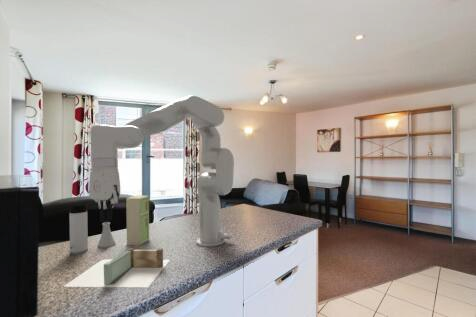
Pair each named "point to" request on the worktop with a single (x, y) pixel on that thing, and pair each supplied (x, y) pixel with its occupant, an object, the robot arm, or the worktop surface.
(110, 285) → the card
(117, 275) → the mint green long bar
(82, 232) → the travel mug
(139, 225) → the toy refrigerator
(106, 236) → the flask
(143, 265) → the fixed fence section
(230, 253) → the worktop surface
